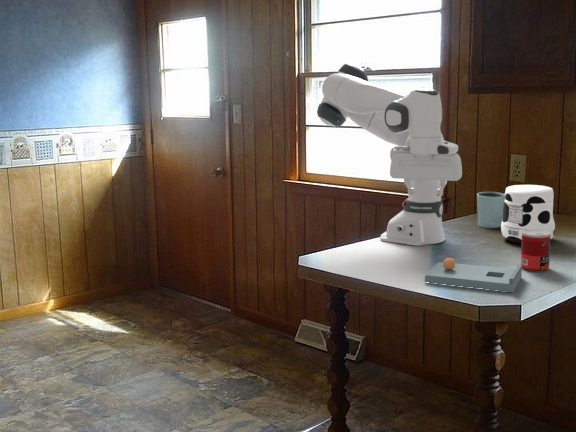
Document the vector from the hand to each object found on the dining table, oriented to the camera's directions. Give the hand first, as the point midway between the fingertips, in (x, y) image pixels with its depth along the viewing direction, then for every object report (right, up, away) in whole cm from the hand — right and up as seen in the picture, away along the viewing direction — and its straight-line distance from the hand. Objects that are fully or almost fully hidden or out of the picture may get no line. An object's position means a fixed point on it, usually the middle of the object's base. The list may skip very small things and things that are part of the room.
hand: (425, 194), depth 197 cm
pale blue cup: (+37, -10, +62) cm, 72 cm away
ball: (+7, -20, +1) cm, 21 cm away
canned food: (+34, -22, +8) cm, 41 cm away
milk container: (+43, -15, +39) cm, 59 cm away
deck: (+13, -24, -1) cm, 28 cm away
